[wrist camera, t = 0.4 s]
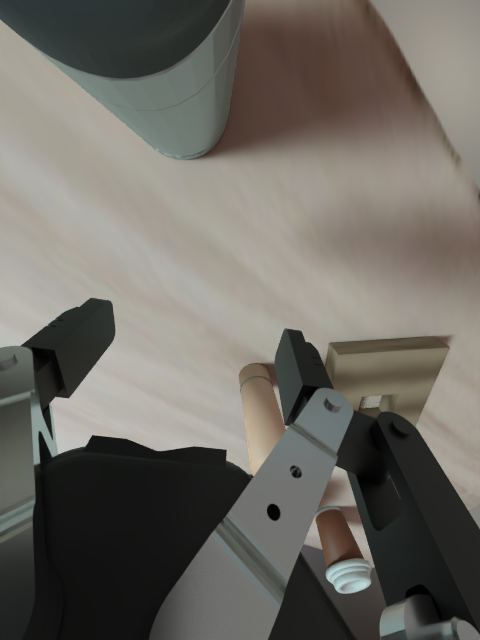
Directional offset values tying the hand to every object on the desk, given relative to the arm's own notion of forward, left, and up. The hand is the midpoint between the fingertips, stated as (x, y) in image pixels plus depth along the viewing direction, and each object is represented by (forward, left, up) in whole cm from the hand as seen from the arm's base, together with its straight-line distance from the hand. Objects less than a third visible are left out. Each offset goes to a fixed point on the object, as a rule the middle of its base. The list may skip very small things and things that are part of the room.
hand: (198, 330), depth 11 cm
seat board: (+24, +24, -18) cm, 39 cm away
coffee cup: (+61, +23, -19) cm, 68 cm away
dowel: (+18, +5, -18) cm, 26 cm away
